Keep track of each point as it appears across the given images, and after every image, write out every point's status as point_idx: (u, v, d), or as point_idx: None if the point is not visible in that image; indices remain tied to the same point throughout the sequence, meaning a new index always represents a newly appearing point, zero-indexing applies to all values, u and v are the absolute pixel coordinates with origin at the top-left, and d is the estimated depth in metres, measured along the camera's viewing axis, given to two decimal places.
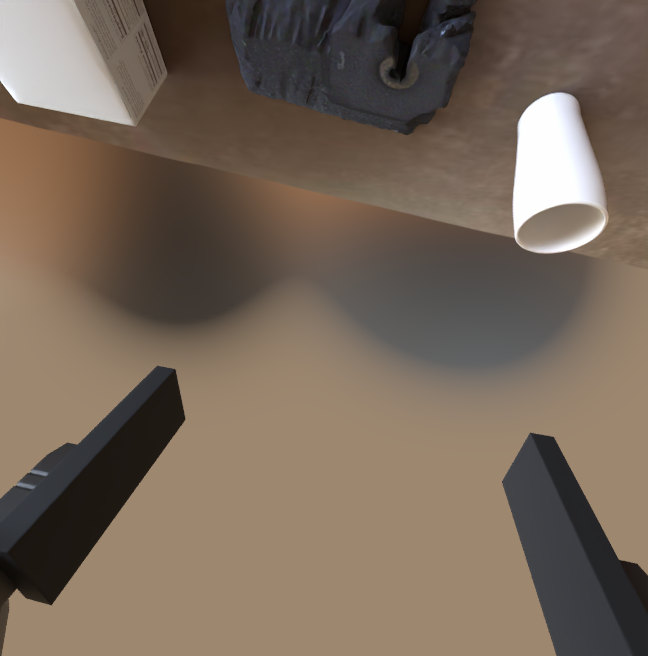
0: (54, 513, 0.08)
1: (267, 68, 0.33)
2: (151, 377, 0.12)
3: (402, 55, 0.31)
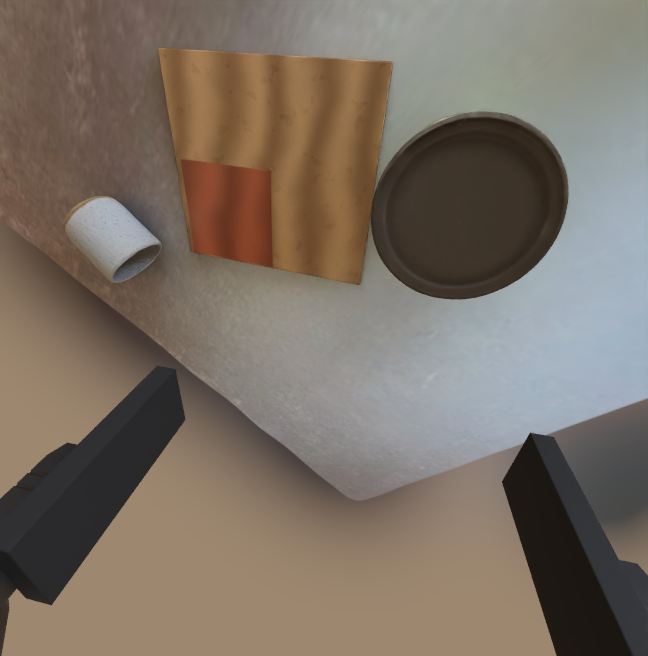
0: (54, 513, 0.08)
1: None
2: (151, 378, 0.12)
3: None
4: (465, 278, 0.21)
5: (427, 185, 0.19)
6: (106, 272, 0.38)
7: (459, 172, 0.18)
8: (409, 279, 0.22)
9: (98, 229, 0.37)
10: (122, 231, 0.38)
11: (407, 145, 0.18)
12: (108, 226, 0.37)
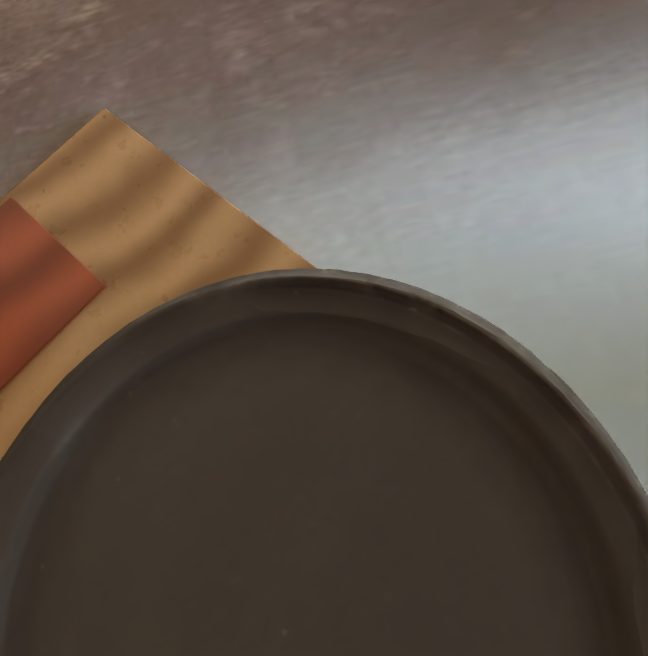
0: None
1: None
2: None
3: None
4: None
5: (254, 421, 0.05)
6: None
7: (361, 441, 0.05)
8: None
9: None
10: None
11: (260, 277, 0.06)
12: None
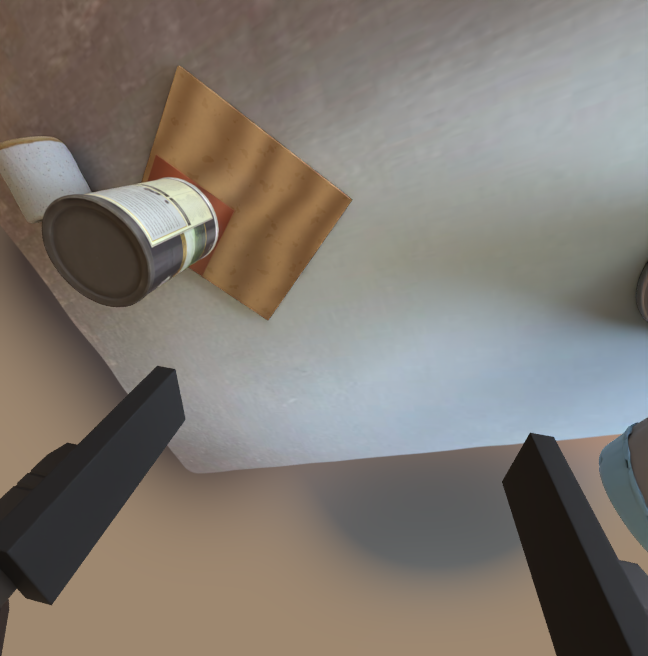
0: (54, 513, 0.08)
1: None
2: (151, 377, 0.12)
3: None
4: (102, 292, 0.32)
5: (77, 227, 0.29)
6: (29, 215, 0.37)
7: (95, 229, 0.29)
8: (67, 277, 0.32)
9: (39, 174, 0.36)
10: (65, 185, 0.37)
11: (63, 198, 0.27)
12: (51, 175, 0.36)
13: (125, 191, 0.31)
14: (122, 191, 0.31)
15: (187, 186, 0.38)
